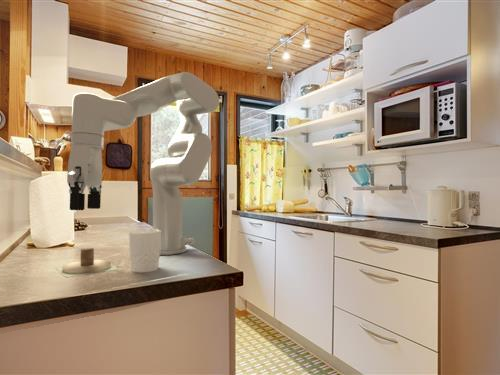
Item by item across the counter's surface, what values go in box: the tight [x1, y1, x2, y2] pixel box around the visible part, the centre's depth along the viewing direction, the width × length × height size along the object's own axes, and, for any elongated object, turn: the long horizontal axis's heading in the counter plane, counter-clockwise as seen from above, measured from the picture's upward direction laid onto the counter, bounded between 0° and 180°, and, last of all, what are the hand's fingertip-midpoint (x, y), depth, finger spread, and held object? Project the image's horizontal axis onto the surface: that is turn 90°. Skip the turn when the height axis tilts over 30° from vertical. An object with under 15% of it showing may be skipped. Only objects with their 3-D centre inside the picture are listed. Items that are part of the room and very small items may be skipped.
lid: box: [61, 247, 112, 274], centre depth 80 cm, size 11×11×5 cm
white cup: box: [128, 229, 161, 273], centre depth 80 cm, size 8×8×10 cm
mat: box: [55, 264, 119, 278], centre depth 80 cm, size 12×12×1 cm
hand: (85, 209), depth 80 cm, fingers open, 9 cm apart
